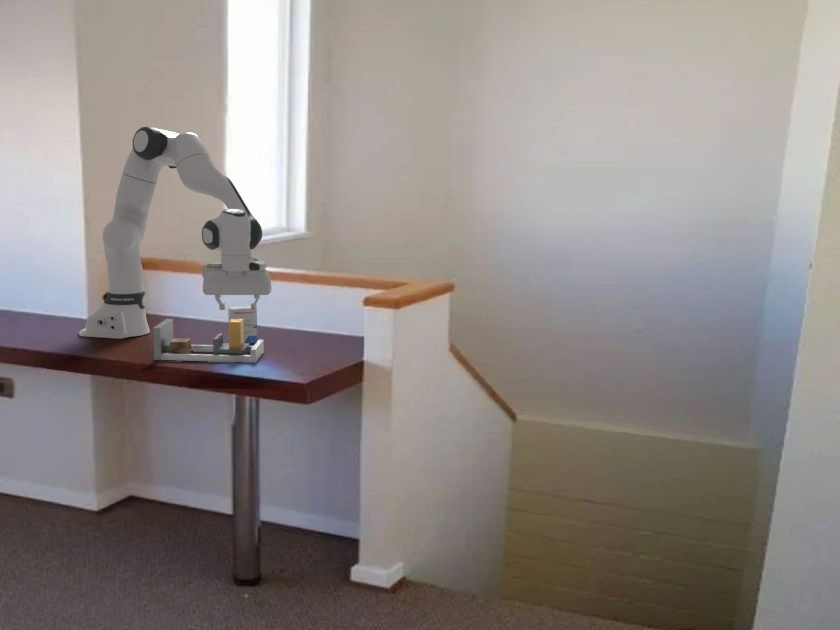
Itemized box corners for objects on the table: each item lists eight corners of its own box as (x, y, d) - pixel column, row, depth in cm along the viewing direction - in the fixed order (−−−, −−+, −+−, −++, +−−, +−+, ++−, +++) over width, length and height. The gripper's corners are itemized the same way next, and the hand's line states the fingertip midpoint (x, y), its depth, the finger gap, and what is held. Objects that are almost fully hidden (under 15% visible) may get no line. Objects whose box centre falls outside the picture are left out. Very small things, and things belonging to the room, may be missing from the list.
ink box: (254, 340, 295) (254, 305, 293) (257, 343, 290) (257, 308, 288) (228, 341, 292) (227, 306, 289) (231, 345, 287) (230, 309, 285)
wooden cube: (170, 358, 269) (169, 341, 268) (175, 354, 274) (174, 338, 273) (187, 358, 269) (186, 342, 268) (191, 354, 274) (190, 338, 273)
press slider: (213, 359, 267) (212, 323, 265) (219, 352, 276) (218, 317, 274) (243, 359, 267) (243, 323, 265) (249, 352, 276) (248, 317, 274)
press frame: (154, 360, 264) (153, 327, 262) (167, 350, 278) (166, 318, 276) (255, 362, 264) (255, 329, 263) (263, 352, 278) (263, 320, 276)
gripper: (199, 265, 263) (201, 311, 266) (268, 265, 263) (269, 311, 266) (203, 262, 269) (205, 307, 272) (271, 262, 270) (273, 307, 272)
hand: (238, 309), depth 269 cm, fingers open, 8 cm apart
